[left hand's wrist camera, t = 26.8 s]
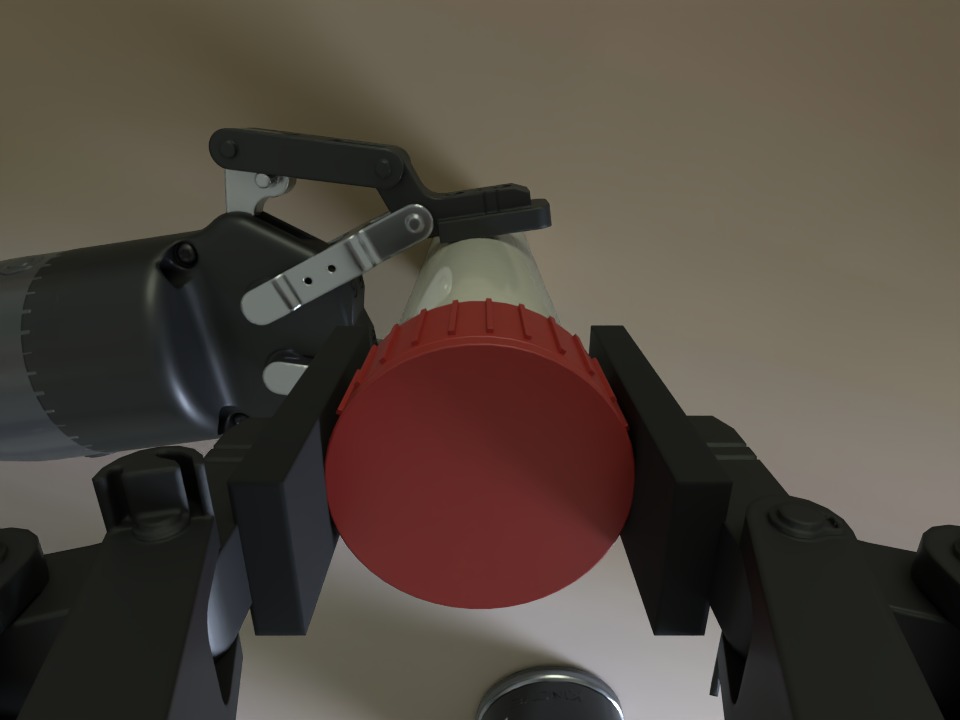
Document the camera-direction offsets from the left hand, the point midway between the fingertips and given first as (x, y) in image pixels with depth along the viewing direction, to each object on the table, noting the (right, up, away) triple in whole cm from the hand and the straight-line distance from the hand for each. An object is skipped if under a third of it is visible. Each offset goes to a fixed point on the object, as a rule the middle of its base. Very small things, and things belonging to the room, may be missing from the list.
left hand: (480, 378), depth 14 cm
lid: (0, -2, -4) cm, 4 cm away
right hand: (+3, +3, +7) cm, 8 cm away
